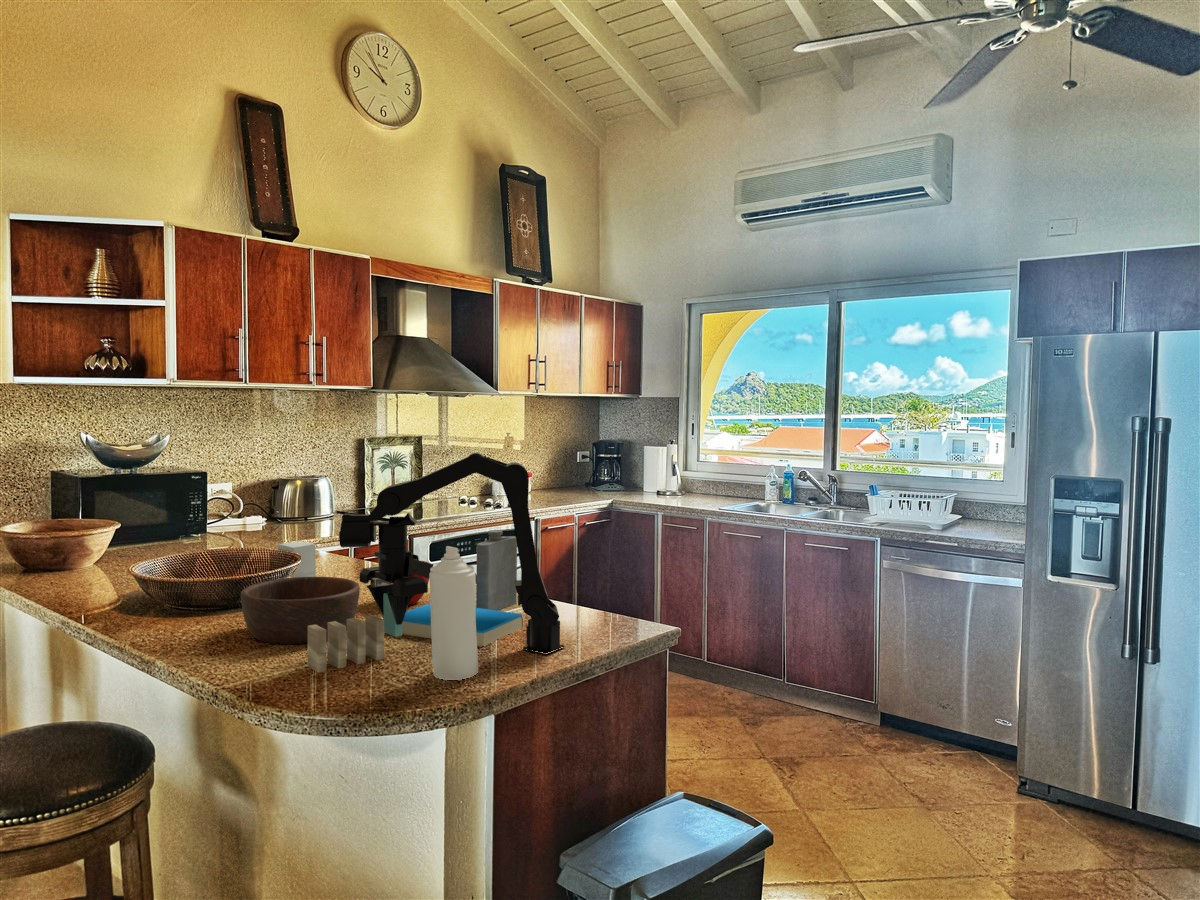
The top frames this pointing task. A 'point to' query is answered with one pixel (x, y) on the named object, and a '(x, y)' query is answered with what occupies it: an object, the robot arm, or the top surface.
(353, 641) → the domino
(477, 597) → the hip flask
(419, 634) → the book
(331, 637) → the domino
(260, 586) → the wooden bowl
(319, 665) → the domino
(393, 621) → the teal domino
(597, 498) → the top surface
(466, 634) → the spray can
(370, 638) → the domino
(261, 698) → the top surface
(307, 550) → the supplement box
